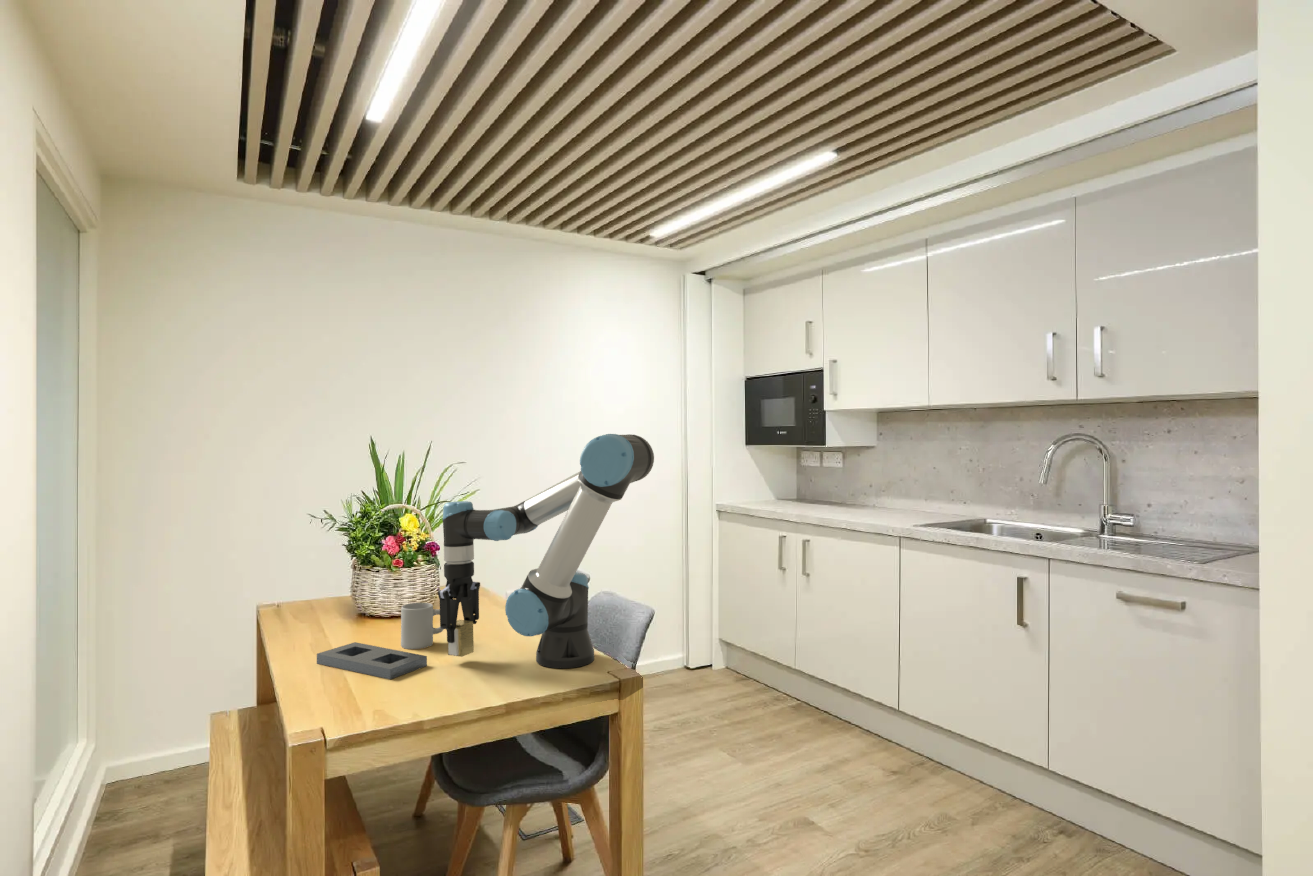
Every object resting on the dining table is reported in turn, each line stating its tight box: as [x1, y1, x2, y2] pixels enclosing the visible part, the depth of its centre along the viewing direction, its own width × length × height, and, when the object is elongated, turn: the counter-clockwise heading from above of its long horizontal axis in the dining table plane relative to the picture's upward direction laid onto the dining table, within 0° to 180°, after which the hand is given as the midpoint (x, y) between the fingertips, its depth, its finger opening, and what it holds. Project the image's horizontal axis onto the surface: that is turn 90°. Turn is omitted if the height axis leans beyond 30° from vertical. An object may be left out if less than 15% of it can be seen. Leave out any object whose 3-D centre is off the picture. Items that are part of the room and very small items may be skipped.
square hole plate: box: [316, 642, 428, 680], centre depth 192 cm, size 26×12×2 cm, turn 63°
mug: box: [400, 602, 445, 650], centre depth 210 cm, size 12×8×11 cm
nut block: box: [447, 619, 475, 658], centre depth 194 cm, size 4×4×8 cm
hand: (460, 651), depth 194 cm, fingers closed on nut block, 4 cm apart
